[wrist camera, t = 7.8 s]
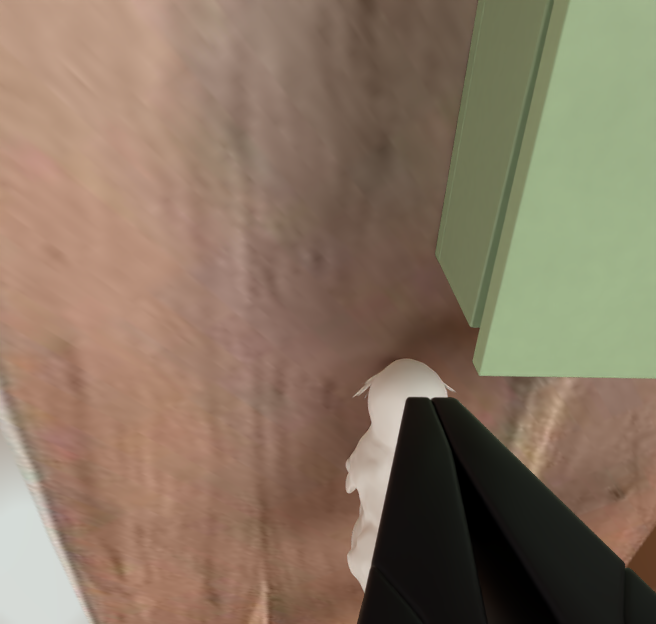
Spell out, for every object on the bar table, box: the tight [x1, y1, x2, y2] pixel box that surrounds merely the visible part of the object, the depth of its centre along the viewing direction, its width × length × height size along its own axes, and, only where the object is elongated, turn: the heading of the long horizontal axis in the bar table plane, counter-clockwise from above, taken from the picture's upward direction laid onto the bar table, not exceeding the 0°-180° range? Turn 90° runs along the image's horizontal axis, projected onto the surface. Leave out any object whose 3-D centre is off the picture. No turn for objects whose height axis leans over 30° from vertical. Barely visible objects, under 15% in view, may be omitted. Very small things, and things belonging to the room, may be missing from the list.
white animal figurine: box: [346, 358, 455, 593], centre depth 23 cm, size 6×8×12 cm
